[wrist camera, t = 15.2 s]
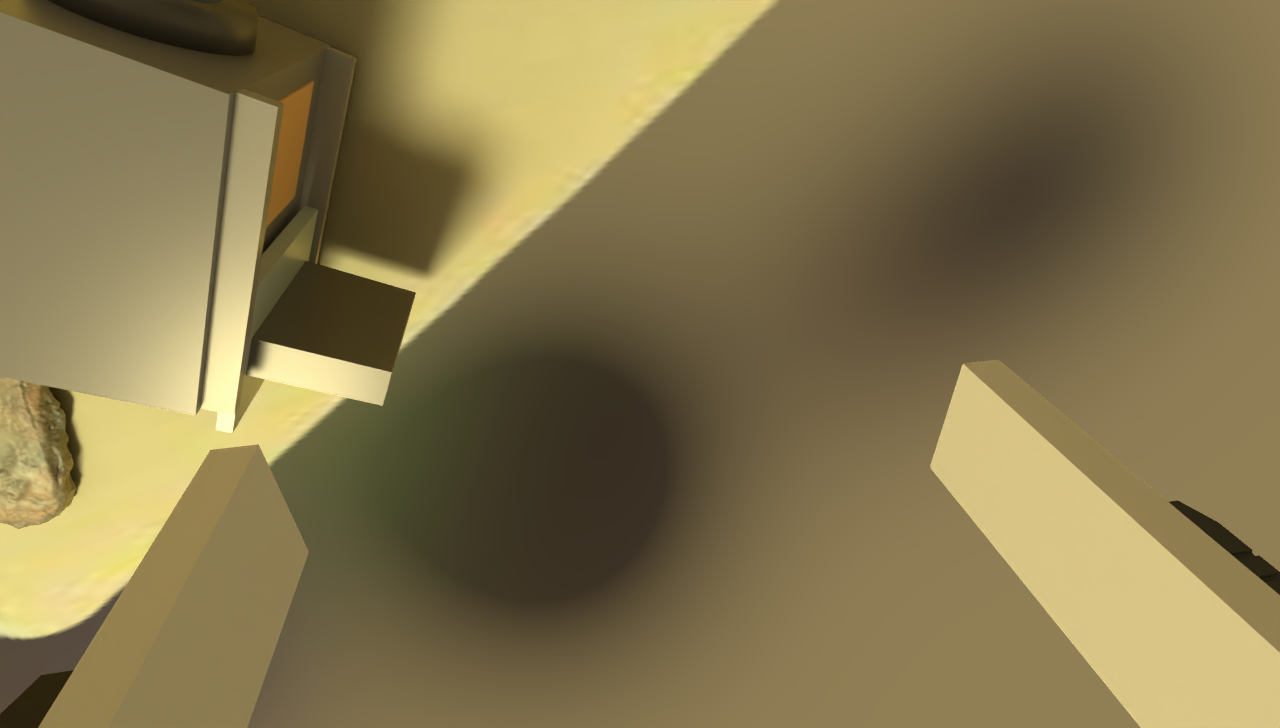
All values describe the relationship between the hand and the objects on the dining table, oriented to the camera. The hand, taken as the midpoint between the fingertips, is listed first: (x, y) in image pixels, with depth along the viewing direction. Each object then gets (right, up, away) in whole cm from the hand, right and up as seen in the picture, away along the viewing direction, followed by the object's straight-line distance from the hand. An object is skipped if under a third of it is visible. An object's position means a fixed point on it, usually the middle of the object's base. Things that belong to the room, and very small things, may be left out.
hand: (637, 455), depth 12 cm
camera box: (-25, +16, +26) cm, 40 cm away
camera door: (-20, +7, +31) cm, 37 cm away
